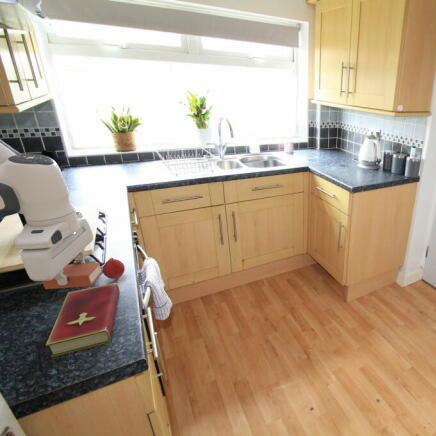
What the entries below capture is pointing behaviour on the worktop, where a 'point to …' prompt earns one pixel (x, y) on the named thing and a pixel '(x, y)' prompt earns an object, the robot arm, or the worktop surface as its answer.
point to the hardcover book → (84, 319)
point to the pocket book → (77, 276)
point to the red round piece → (113, 268)
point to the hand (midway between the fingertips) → (73, 274)
